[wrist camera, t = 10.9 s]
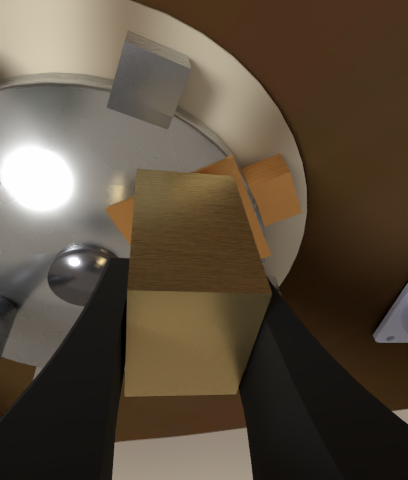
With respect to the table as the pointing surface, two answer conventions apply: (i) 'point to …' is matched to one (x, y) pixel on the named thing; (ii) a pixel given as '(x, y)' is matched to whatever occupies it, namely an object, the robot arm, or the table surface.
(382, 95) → the table surface
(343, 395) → the robot arm
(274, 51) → the table surface
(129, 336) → the wooden block
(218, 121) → the base plate
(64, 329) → the sprocket
